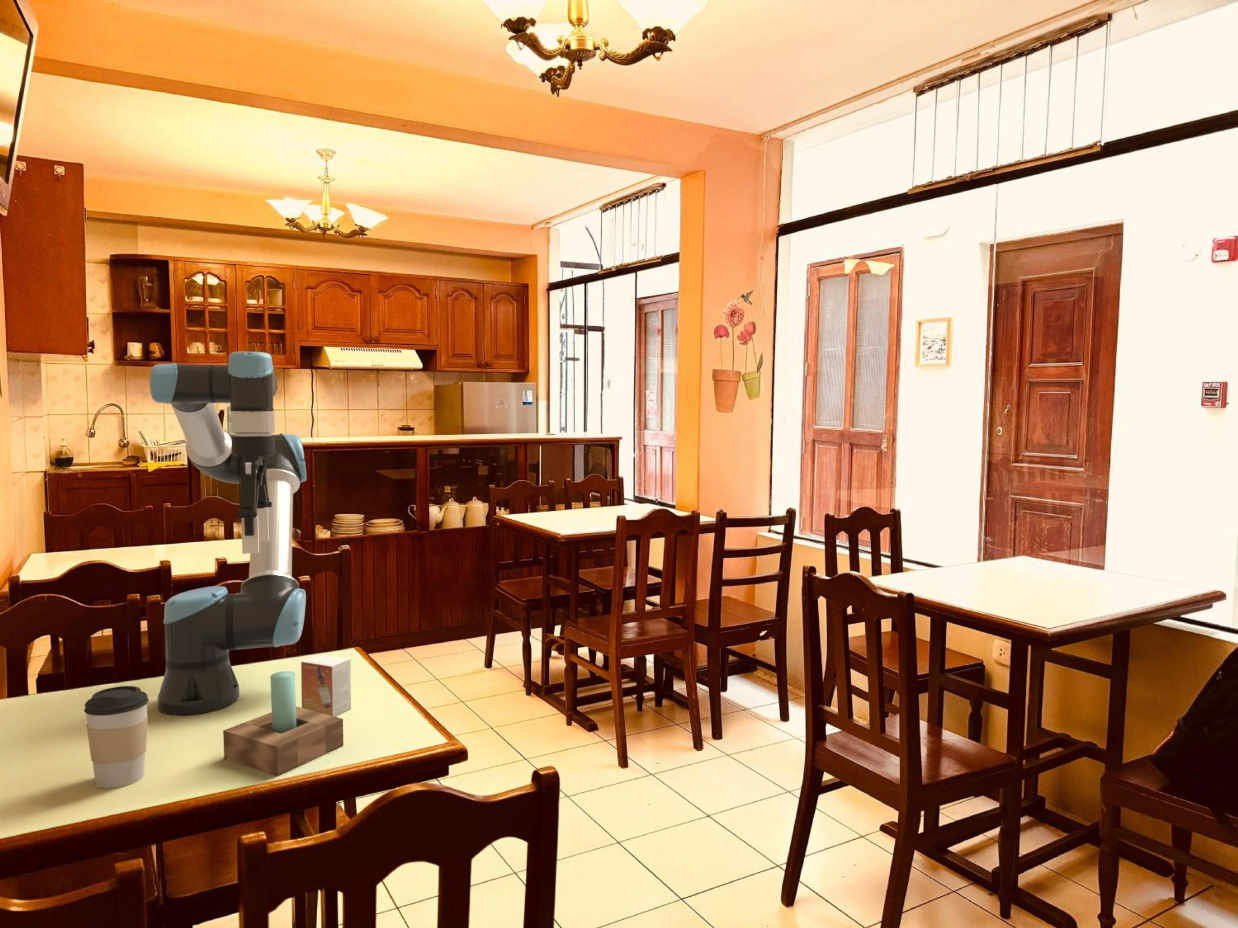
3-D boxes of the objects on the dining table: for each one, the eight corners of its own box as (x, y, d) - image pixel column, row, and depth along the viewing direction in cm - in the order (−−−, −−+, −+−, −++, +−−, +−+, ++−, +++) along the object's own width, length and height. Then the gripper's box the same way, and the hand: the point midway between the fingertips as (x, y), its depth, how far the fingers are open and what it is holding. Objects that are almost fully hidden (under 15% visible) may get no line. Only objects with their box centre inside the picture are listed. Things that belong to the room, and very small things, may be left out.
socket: (224, 758, 144) (223, 730, 144) (290, 730, 156) (290, 704, 156) (278, 775, 137) (277, 746, 137) (343, 745, 150) (342, 718, 149)
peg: (267, 753, 146) (265, 676, 145) (286, 745, 150) (284, 669, 149) (283, 758, 144) (280, 679, 143) (301, 749, 148) (299, 673, 147)
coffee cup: (106, 767, 140) (102, 681, 139) (161, 765, 141) (158, 680, 140) (75, 792, 131) (71, 700, 130) (135, 790, 132) (131, 699, 131)
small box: (301, 712, 165) (299, 661, 165) (320, 703, 171) (319, 653, 170) (332, 718, 162) (331, 666, 162) (352, 708, 168) (350, 658, 167)
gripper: (241, 432, 166) (245, 537, 167) (218, 437, 142) (222, 559, 143) (282, 432, 168) (284, 535, 169) (265, 437, 144) (268, 557, 145)
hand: (256, 547), depth 156 cm, fingers open, 13 cm apart
